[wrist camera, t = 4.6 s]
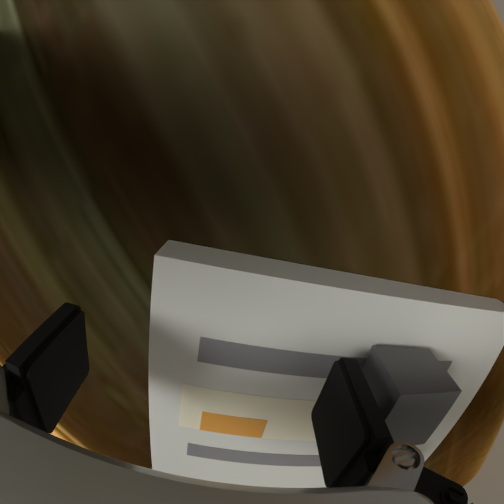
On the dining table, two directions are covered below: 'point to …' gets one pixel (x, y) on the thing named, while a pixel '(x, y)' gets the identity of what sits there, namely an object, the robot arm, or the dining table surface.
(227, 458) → the switch panel
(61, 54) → the dining table surface
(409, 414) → the dark gray slider
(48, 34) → the dining table surface
